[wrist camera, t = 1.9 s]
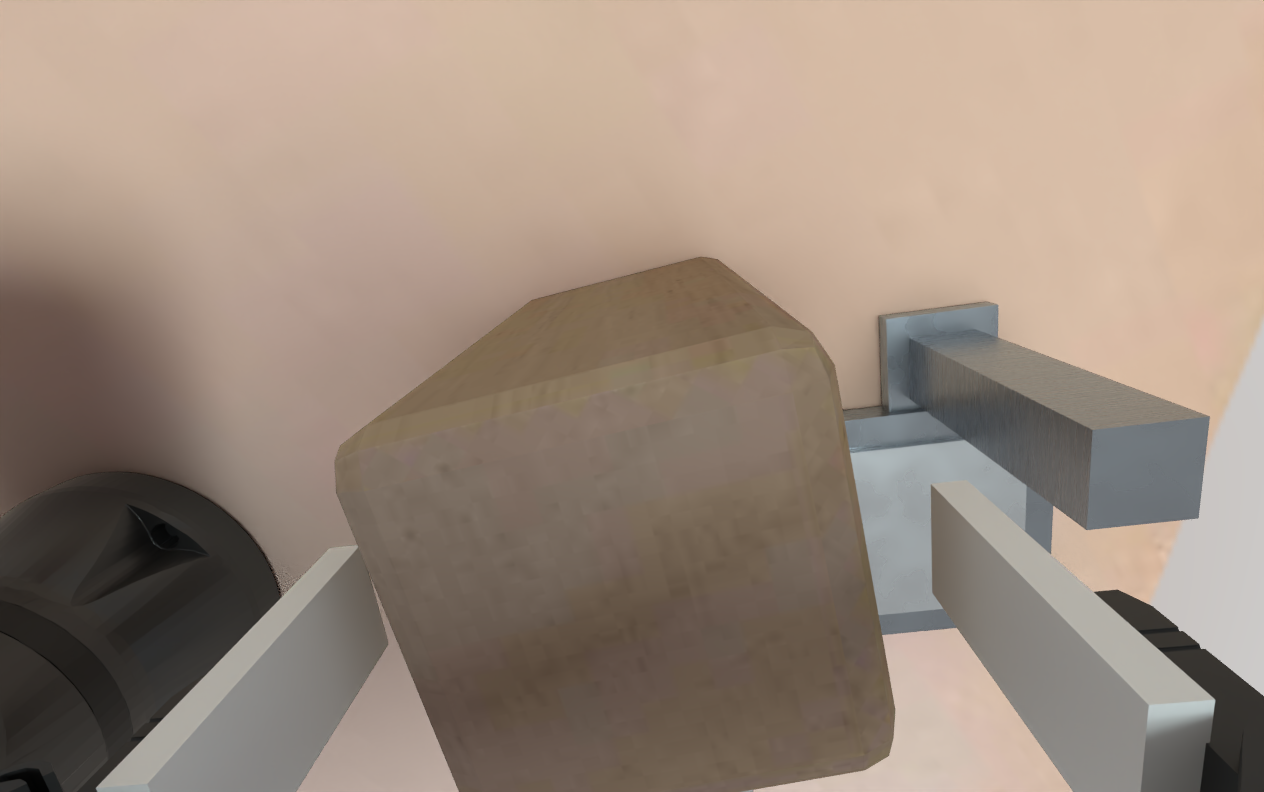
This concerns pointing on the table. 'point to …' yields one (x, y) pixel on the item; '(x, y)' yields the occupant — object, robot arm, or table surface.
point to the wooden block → (629, 546)
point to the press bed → (1004, 448)
